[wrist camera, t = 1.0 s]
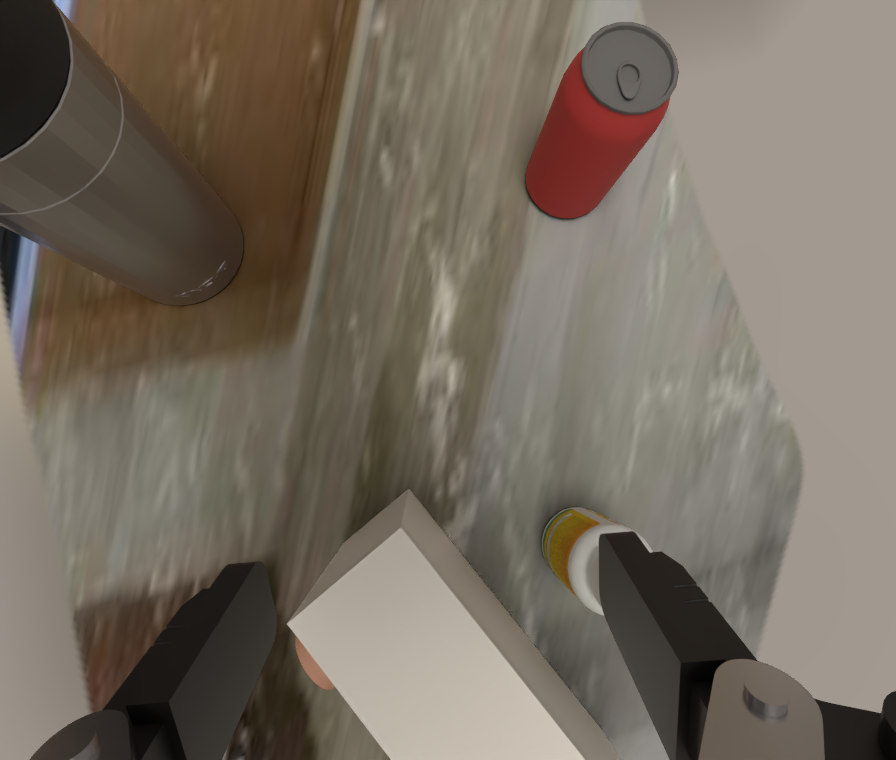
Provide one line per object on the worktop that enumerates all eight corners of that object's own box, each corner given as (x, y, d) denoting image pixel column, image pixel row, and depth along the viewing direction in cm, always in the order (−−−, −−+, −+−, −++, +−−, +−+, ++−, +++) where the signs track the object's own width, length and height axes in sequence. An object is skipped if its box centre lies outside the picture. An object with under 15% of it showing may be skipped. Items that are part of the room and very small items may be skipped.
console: (343, 542, 32) (286, 623, 19) (408, 488, 33) (400, 527, 19) (539, 792, 31) (634, 1078, 17) (602, 730, 32) (742, 957, 18)
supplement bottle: (608, 505, 34) (681, 533, 24) (611, 579, 33) (688, 638, 24) (538, 506, 34) (585, 535, 24) (540, 581, 33) (589, 641, 23)
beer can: (521, 217, 36) (570, 112, 24) (525, 142, 37) (575, 4, 25) (601, 226, 37) (688, 126, 25) (603, 151, 37) (689, 19, 26)
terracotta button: (305, 621, 25) (288, 648, 22) (357, 577, 25) (347, 597, 22) (341, 668, 25) (329, 703, 21) (392, 622, 25) (388, 650, 22)
